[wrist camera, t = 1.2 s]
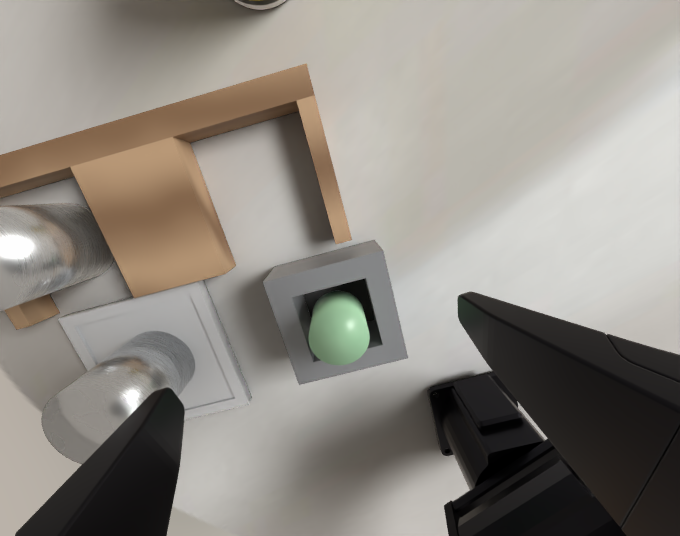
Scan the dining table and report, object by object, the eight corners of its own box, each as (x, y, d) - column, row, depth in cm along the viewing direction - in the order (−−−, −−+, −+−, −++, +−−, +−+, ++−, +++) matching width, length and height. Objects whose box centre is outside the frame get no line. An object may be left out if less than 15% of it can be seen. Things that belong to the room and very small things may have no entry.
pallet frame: (350, 234, 19) (351, 239, 17) (46, 316, 20) (16, 329, 18) (309, 78, 17) (306, 63, 15) (-34, 179, 18) (-78, 178, 16)
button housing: (396, 331, 21) (408, 358, 18) (304, 354, 22) (299, 384, 18) (374, 239, 19) (383, 250, 16) (274, 266, 20) (262, 282, 16)
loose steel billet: (205, 383, 21) (158, 455, 15) (142, 399, 22) (71, 475, 16) (178, 323, 20) (115, 377, 14) (111, 340, 20) (22, 401, 14)
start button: (368, 330, 18) (375, 357, 15) (320, 343, 19) (318, 371, 16) (356, 284, 18) (361, 303, 15) (306, 297, 18) (300, 319, 15)
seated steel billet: (128, 267, 20) (42, 300, 14) (60, 286, 20) (-53, 326, 14) (93, 193, 18) (-19, 195, 12) (20, 214, 18) (-123, 226, 13)
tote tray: (251, 397, 22) (248, 404, 22) (131, 426, 23) (124, 435, 22) (202, 278, 20) (197, 281, 19) (68, 314, 20) (57, 319, 19)
